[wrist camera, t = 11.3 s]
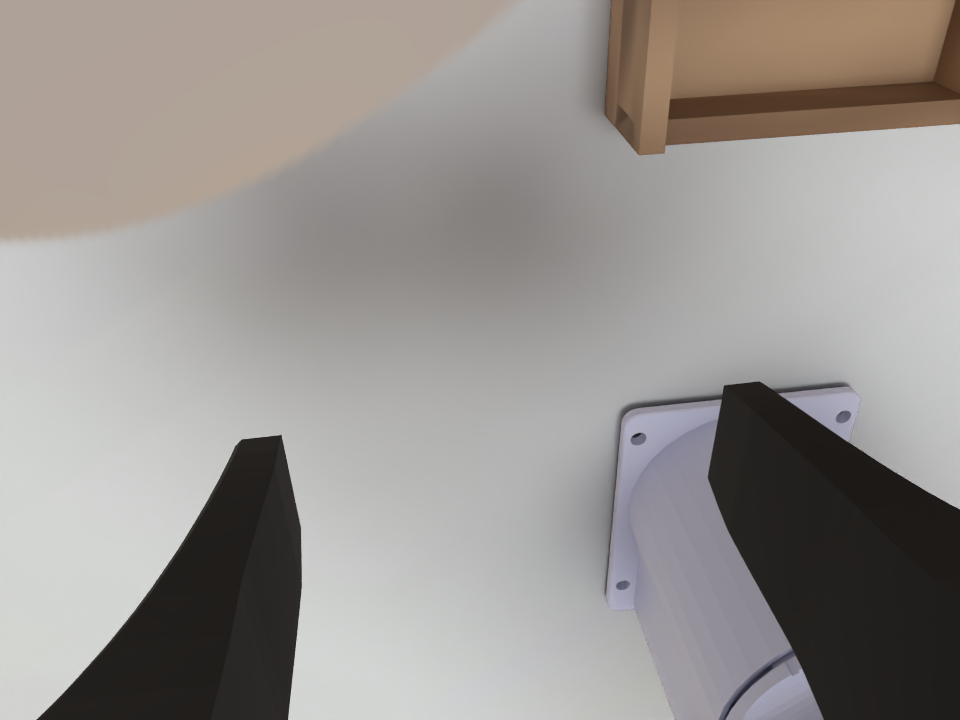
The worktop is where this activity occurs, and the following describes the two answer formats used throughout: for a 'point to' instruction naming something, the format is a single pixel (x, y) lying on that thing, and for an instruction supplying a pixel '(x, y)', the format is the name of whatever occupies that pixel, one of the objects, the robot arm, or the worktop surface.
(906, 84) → the spice rack
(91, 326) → the worktop surface
